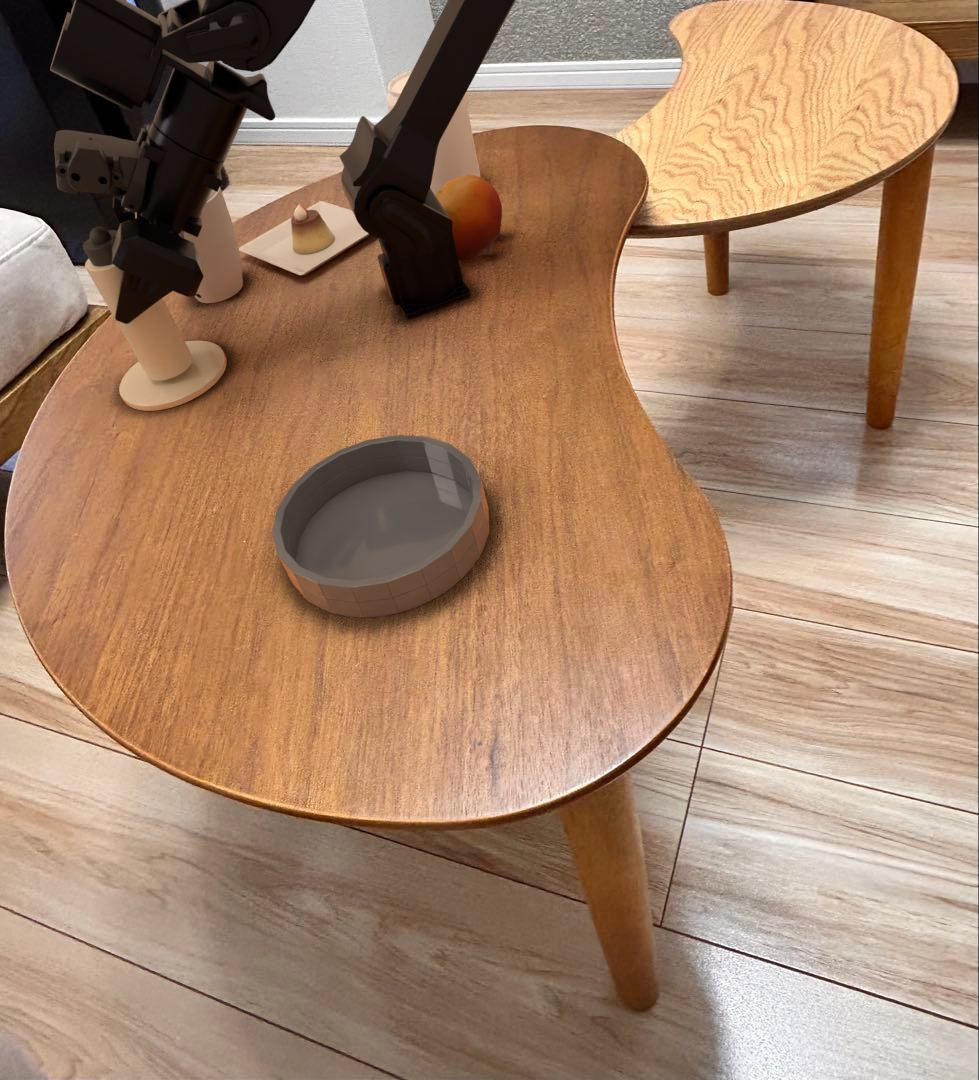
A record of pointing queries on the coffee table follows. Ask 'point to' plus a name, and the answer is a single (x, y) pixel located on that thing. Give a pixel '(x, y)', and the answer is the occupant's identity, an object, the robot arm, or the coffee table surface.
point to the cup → (217, 252)
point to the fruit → (472, 214)
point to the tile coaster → (174, 380)
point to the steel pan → (382, 525)
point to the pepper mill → (152, 329)
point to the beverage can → (446, 141)
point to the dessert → (308, 238)
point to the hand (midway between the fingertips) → (121, 308)
